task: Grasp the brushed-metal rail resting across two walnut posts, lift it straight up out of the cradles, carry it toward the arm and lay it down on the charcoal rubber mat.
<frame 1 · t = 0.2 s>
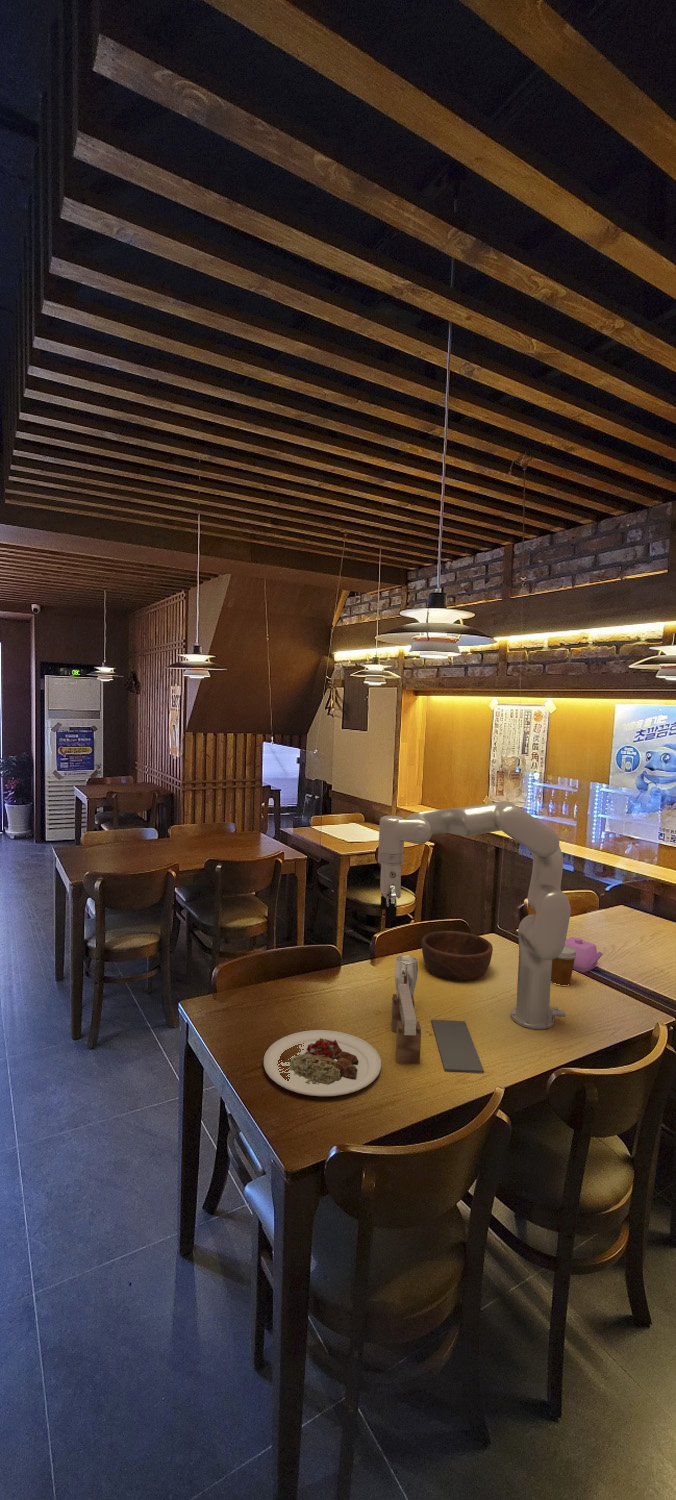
hand: (388, 914, 188), 31 cm above the table, tool pointing down, fingers open, 9 cm apart
post 2: (407, 1058, 166), on the table
teapot: (577, 966, 234), on the table
plated food: (322, 1067, 161), on the table
post 1: (402, 1028, 182), on the table
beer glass: (404, 1007, 196), on the table
disposable coffee cup: (560, 983, 218), on the table
rail: (405, 1014, 173), point 8 cm above the table, touching post 2, post 1
mat: (455, 1045, 173), on the table
wooden bowl: (455, 971, 225), on the table
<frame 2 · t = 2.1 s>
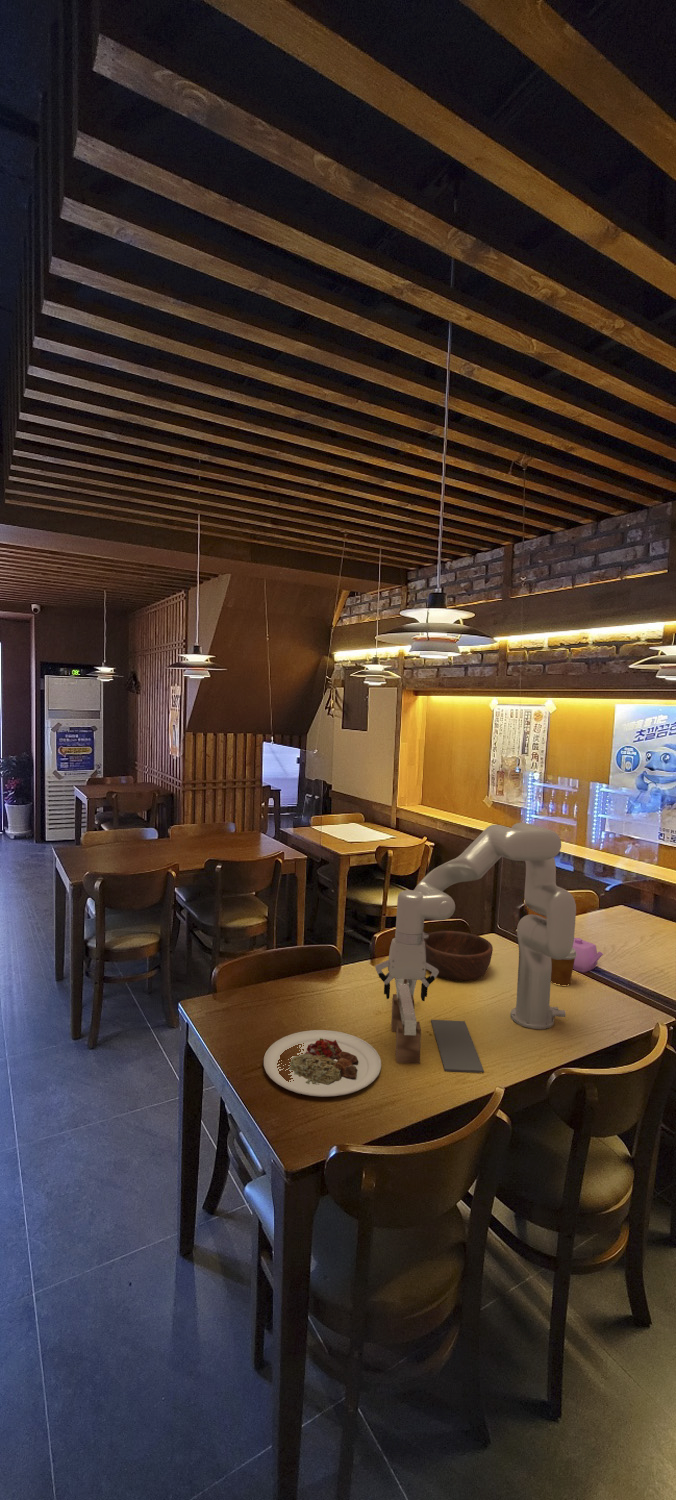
hand: (405, 997, 173), 13 cm above the table, tool pointing down, fingers open, 9 cm apart
nothing on the table moved.
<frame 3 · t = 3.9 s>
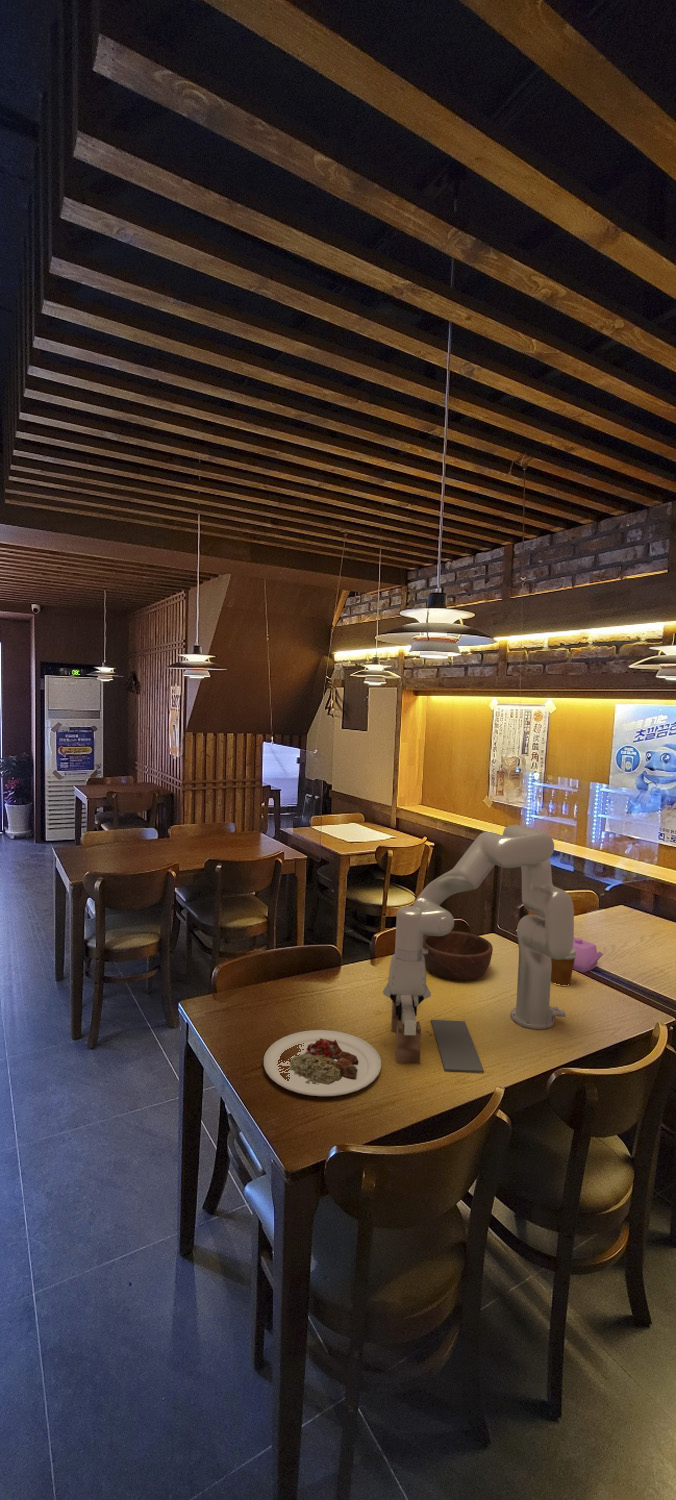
hand: (405, 1017, 173), 7 cm above the table, tool pointing down, fingers closed on rail, 3 cm apart
rail: (405, 1014, 173), point 8 cm above the table, touching gripper, post 2, post 1
everything else where it was.
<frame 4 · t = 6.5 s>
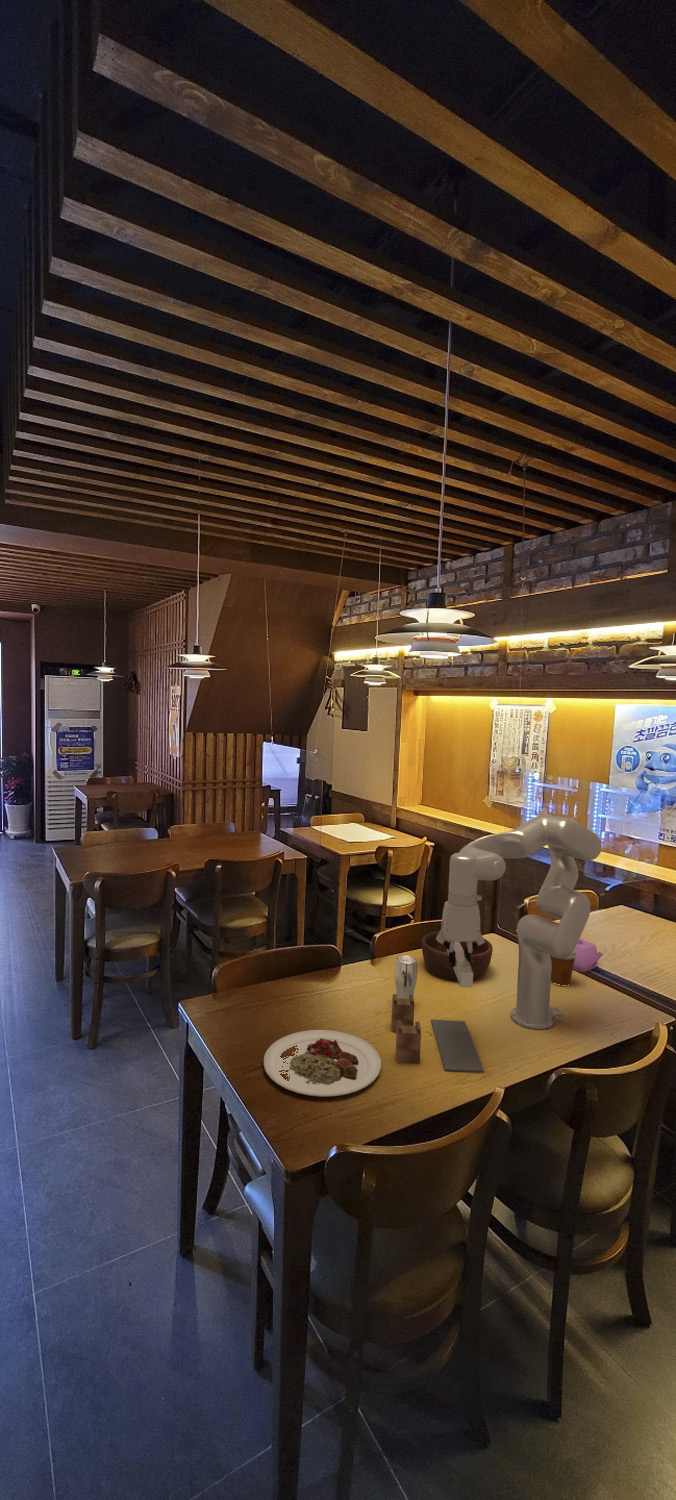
hand: (459, 964, 172), 23 cm above the table, tool pointing down, fingers closed on rail, 3 cm apart
rail: (459, 968, 172), point 22 cm above the table, touching gripper
everything else where it was.
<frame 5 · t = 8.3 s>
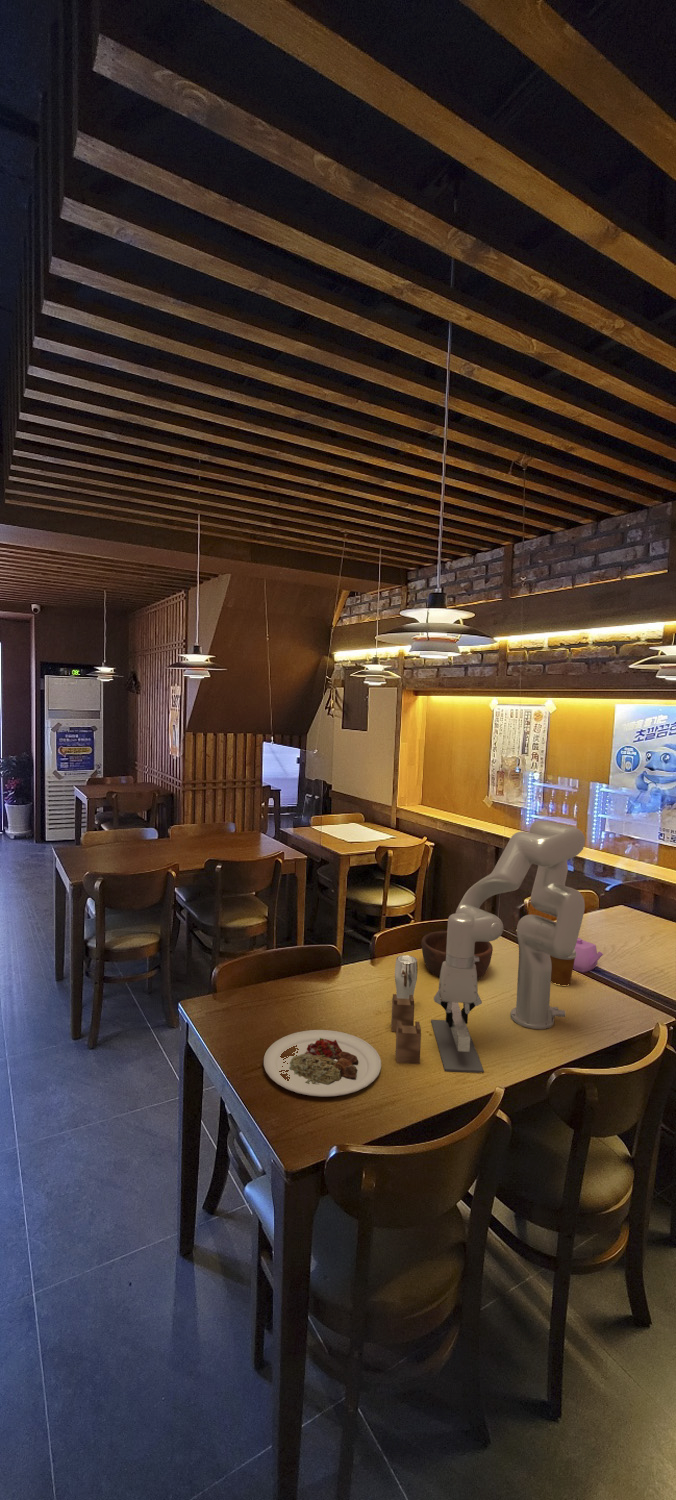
hand: (456, 1024, 173), 6 cm above the table, tool pointing down, fingers closed on rail, 3 cm apart
rail: (456, 1028, 173), point 5 cm above the table, touching gripper
everything else where it was.
when the fingers open (2 cm above the table, at t = 9.3 s): rail stays where it is, resting on mat.
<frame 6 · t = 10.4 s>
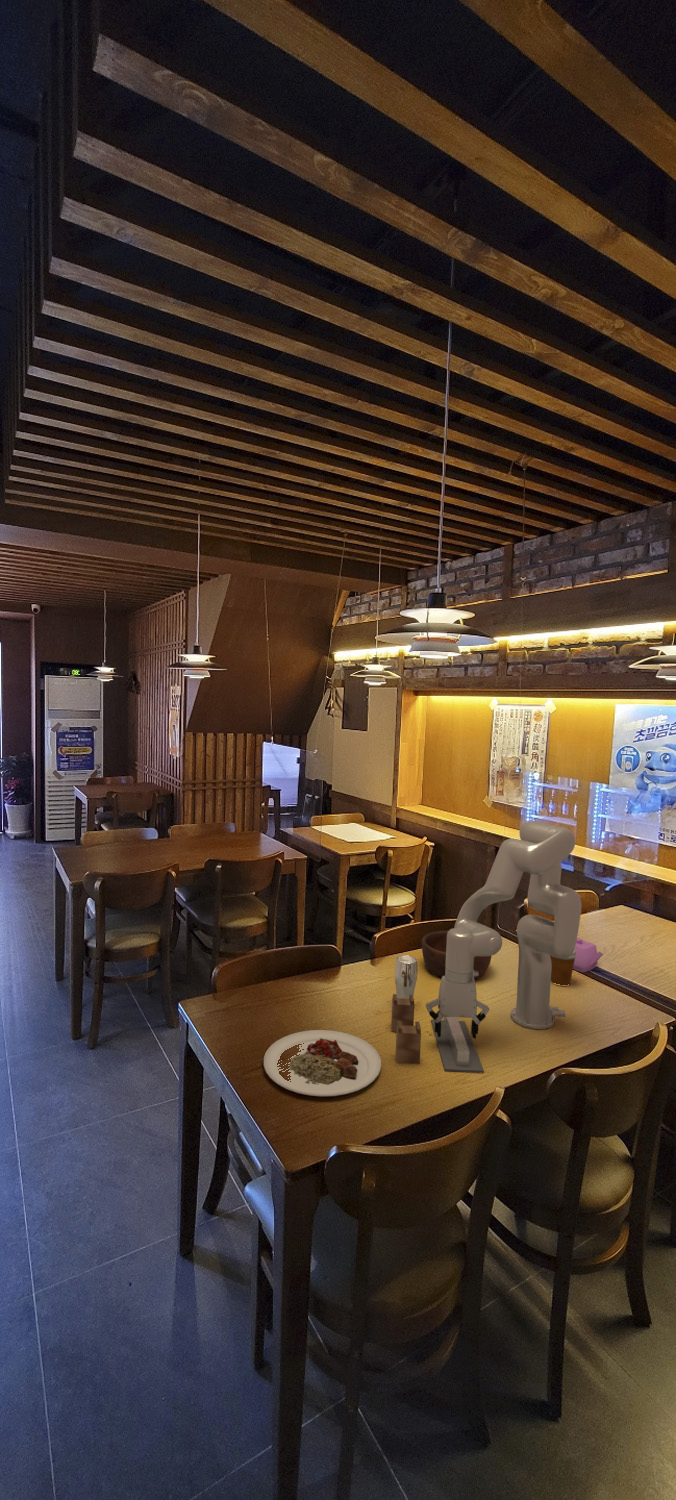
hand: (456, 1035, 173), 3 cm above the table, tool pointing down, fingers open, 9 cm apart
rail: (455, 1043, 173), point 1 cm above the table, touching mat
everything else where it was.
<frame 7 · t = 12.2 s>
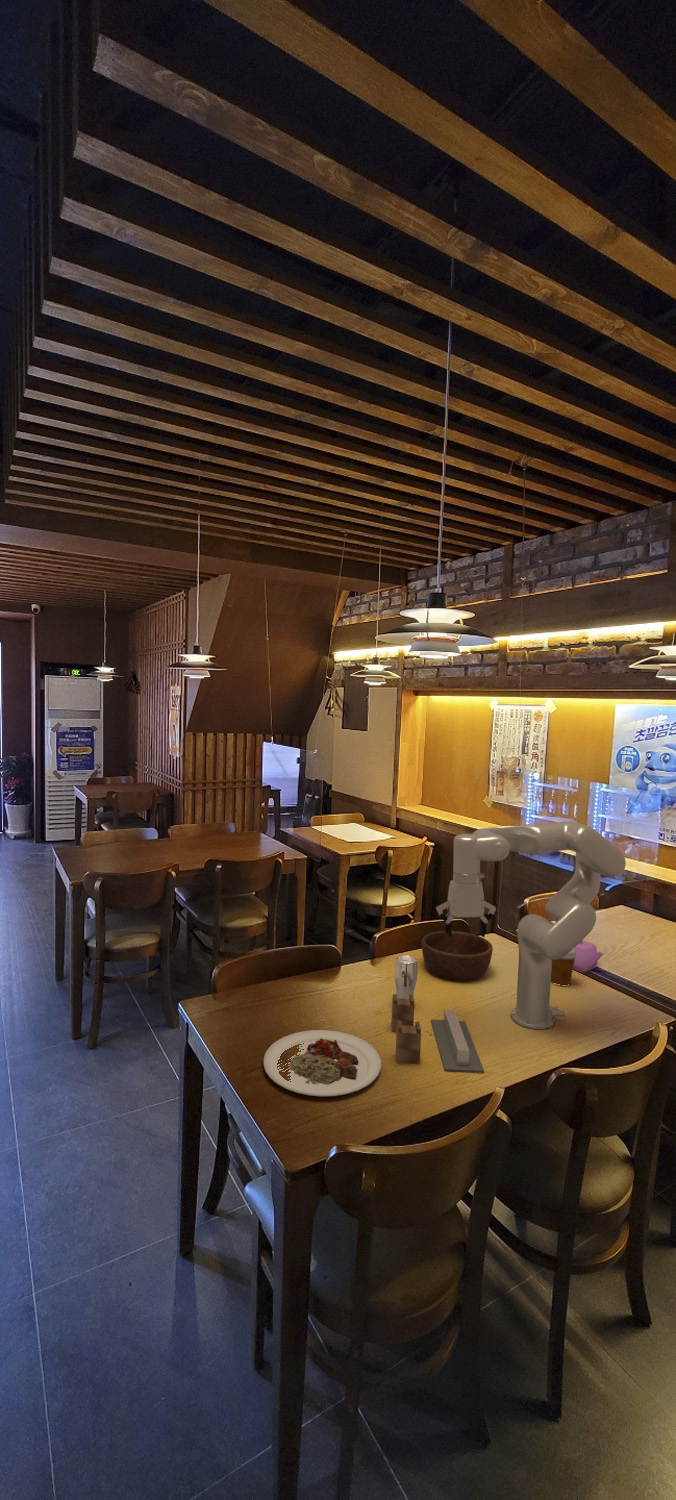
hand: (465, 935, 183), 27 cm above the table, tool pointing down, fingers open, 9 cm apart
nothing on the table moved.
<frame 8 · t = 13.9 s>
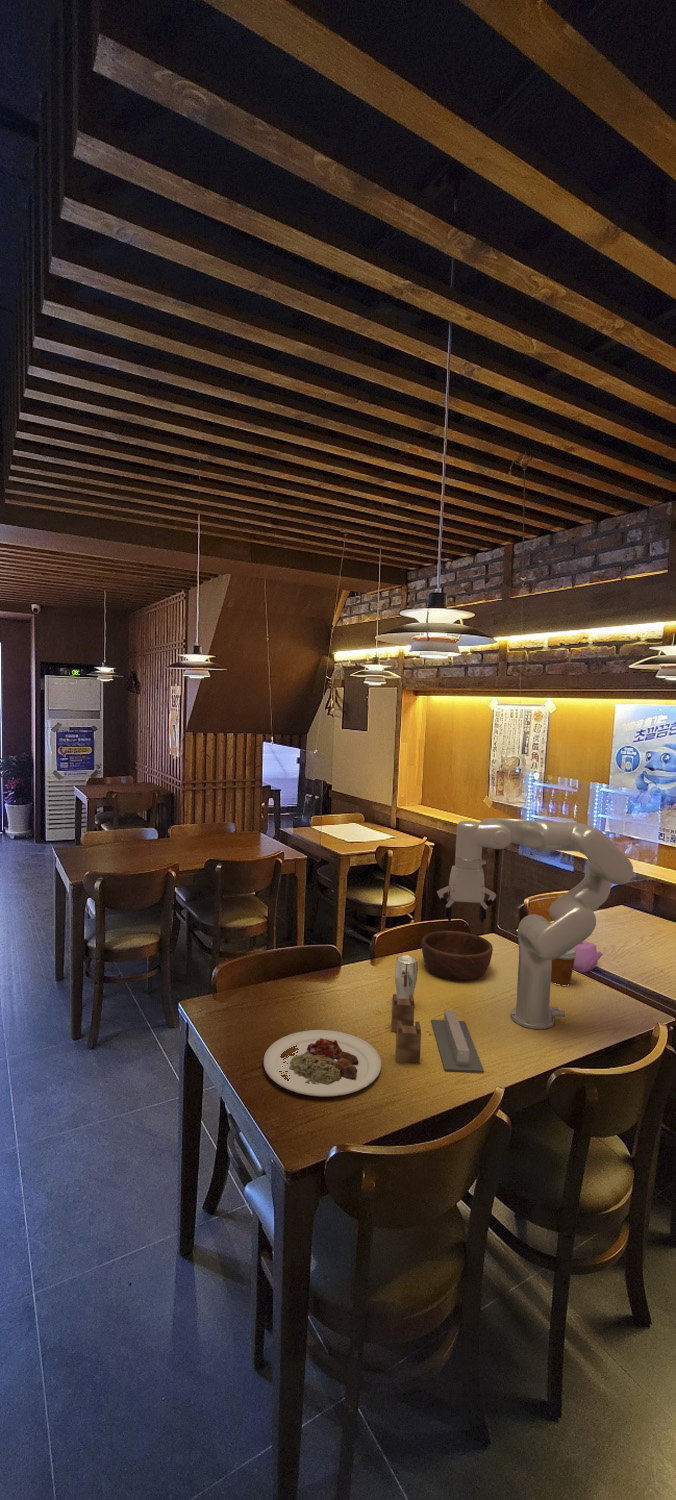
hand: (465, 920, 187), 30 cm above the table, tool pointing down, fingers open, 9 cm apart
nothing on the table moved.
at the end: rail inside the target area on the mat (0.1 cm from its centre), point 0.6 cm above the mat's base; rail point 0.6 cm above the table; the gripper is holding nothing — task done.
